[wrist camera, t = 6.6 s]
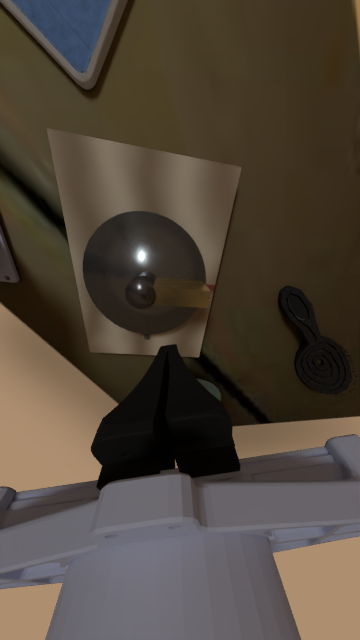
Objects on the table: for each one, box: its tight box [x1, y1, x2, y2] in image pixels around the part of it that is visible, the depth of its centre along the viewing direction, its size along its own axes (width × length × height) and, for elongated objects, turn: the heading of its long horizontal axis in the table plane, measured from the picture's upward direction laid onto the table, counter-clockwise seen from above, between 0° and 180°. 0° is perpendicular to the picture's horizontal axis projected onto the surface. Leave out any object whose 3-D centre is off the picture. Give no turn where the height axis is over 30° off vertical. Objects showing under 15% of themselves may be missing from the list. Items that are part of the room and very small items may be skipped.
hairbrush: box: [278, 286, 357, 397], centre depth 24 cm, size 8×4×25 cm
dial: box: [83, 211, 211, 334], centre depth 15 cm, size 13×13×5 cm
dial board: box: [47, 128, 242, 357], centre depth 18 cm, size 16×22×2 cm
